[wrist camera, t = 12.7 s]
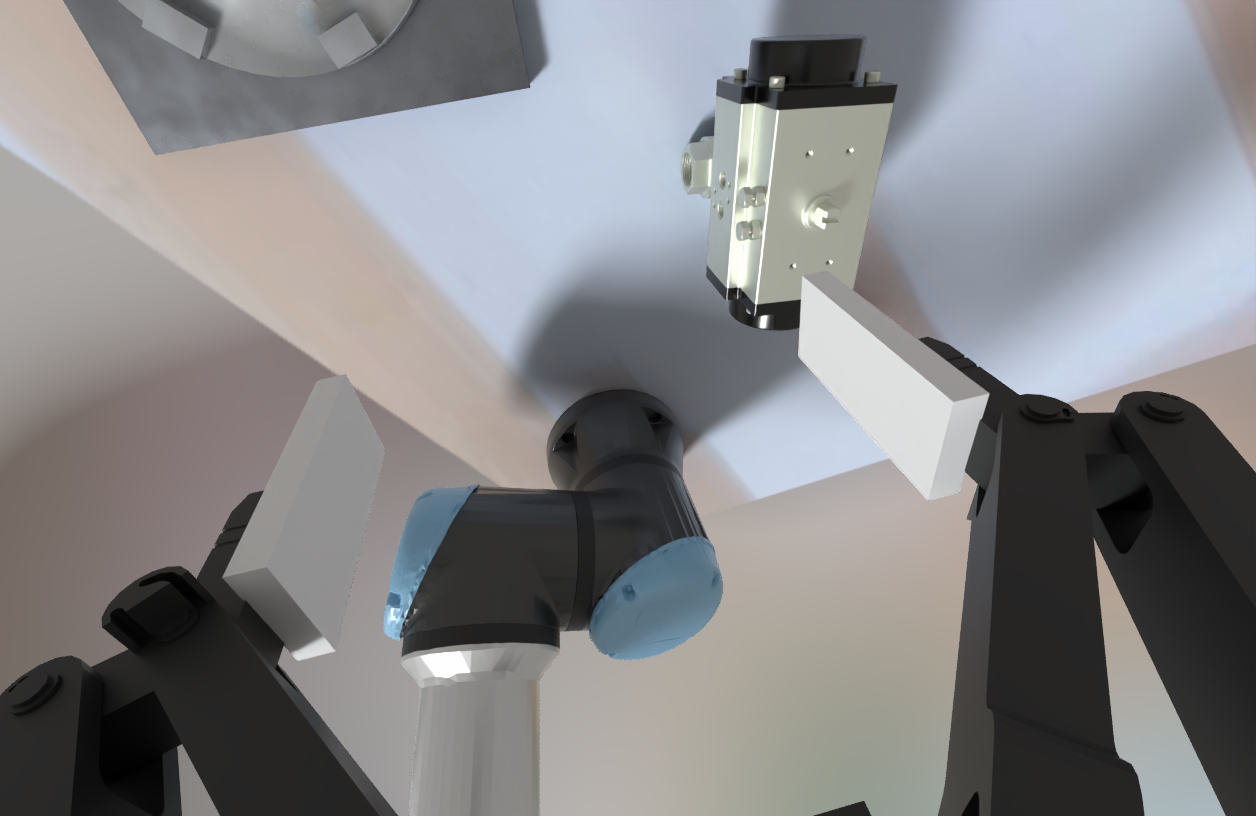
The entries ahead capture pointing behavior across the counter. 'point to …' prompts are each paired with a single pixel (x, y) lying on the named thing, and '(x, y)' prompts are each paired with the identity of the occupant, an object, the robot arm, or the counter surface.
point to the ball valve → (789, 172)
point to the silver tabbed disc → (275, 31)
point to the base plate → (262, 105)
